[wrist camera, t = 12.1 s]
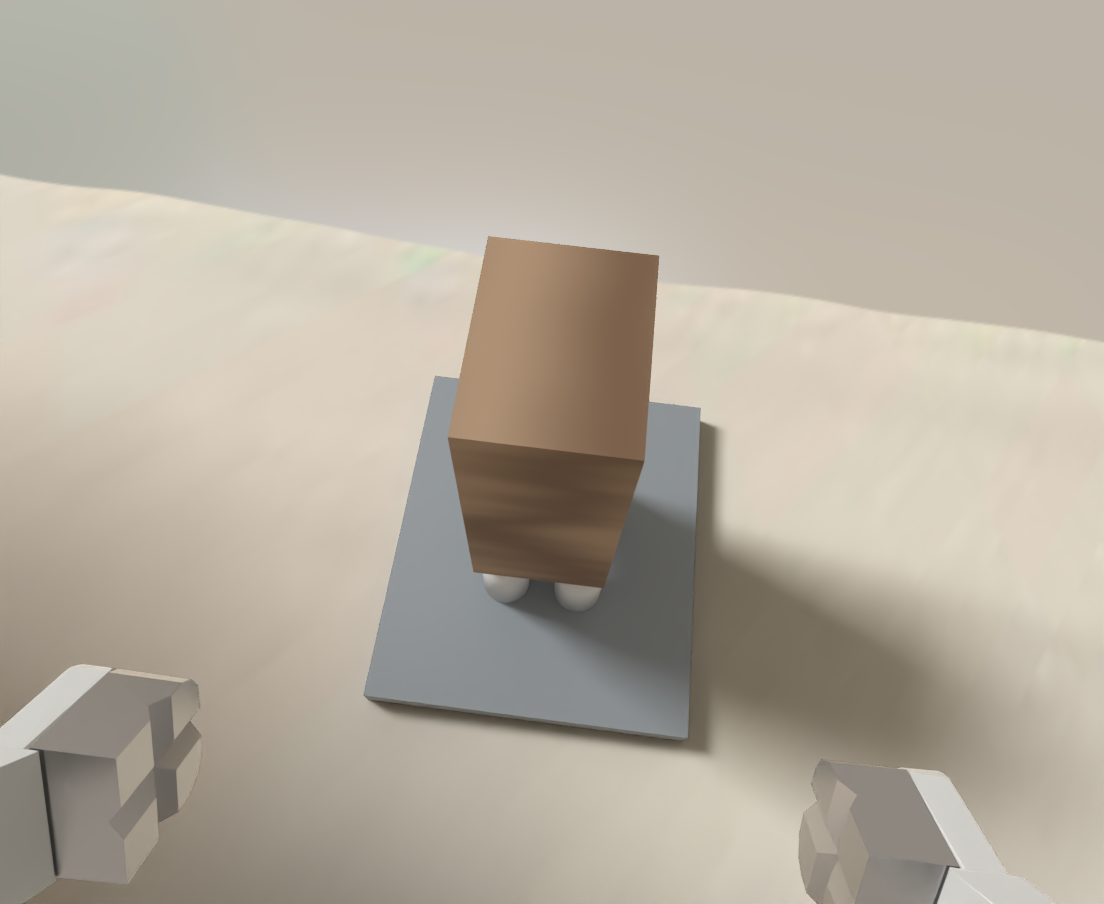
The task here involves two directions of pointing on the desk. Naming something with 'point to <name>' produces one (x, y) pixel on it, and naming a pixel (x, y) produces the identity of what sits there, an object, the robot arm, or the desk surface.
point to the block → (553, 408)
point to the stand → (546, 603)
